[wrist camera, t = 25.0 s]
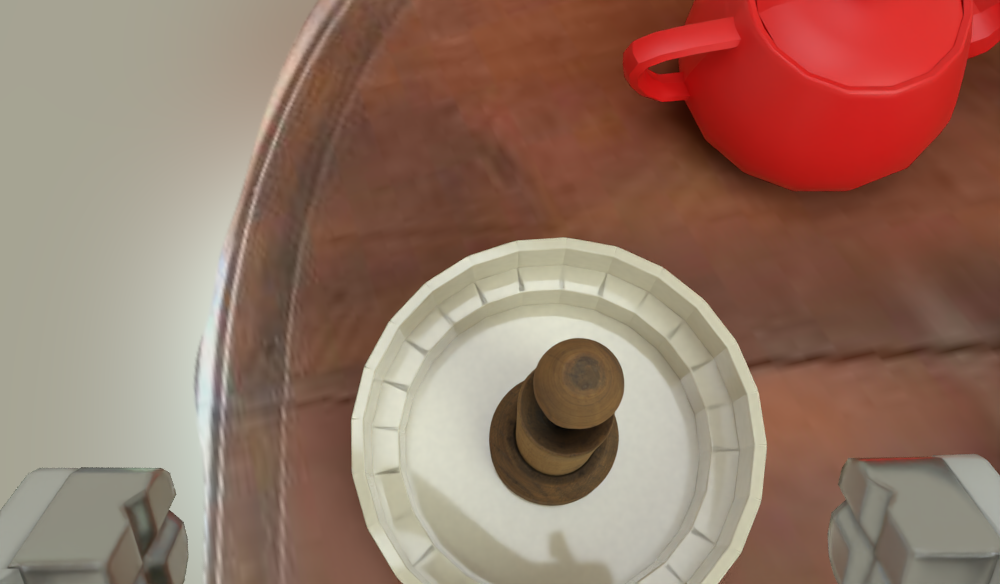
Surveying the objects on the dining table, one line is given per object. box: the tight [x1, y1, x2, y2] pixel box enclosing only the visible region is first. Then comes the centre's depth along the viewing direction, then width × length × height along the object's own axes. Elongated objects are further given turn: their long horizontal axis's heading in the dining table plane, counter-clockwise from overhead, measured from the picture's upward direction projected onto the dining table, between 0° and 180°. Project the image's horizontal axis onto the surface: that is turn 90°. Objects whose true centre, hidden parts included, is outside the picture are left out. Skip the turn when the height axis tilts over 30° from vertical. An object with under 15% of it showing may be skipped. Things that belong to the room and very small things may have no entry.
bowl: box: [351, 237, 767, 584], centre depth 41 cm, size 19×19×6 cm
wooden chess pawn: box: [489, 338, 624, 506], centre depth 35 cm, size 7×6×18 cm
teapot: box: [623, 0, 1000, 191], centre depth 45 cm, size 25×16×12 cm, turn 101°
